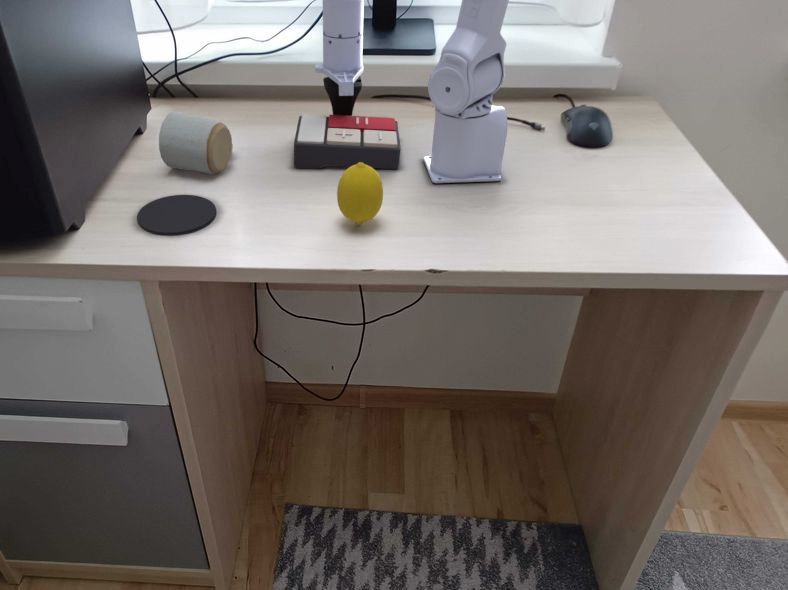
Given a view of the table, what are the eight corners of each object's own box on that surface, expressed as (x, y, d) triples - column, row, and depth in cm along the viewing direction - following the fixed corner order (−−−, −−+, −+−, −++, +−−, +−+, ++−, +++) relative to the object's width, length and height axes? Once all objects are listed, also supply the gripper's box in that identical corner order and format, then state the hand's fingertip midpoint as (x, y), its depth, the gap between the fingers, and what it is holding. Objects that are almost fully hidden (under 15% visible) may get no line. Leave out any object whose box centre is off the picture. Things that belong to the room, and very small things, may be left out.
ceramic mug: (214, 183, 90) (207, 128, 85) (162, 175, 92) (153, 121, 87) (246, 154, 97) (242, 102, 92) (198, 147, 100) (191, 96, 95)
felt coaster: (219, 195, 87) (218, 193, 87) (213, 233, 79) (213, 230, 79) (144, 198, 87) (143, 196, 86) (131, 236, 79) (130, 234, 79)
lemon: (368, 239, 78) (370, 177, 73) (328, 227, 80) (328, 166, 75) (389, 220, 81) (393, 159, 76) (351, 209, 84) (352, 149, 78)
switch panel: (401, 144, 90) (293, 138, 90) (398, 173, 93) (293, 167, 93) (398, 115, 98) (299, 110, 98) (394, 142, 101) (298, 137, 101)
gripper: (312, 20, 98) (314, 110, 106) (317, 48, 86) (318, 146, 95) (359, 19, 98) (357, 109, 107) (369, 47, 87) (366, 145, 96)
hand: (342, 127), depth 101 cm, fingers closed
